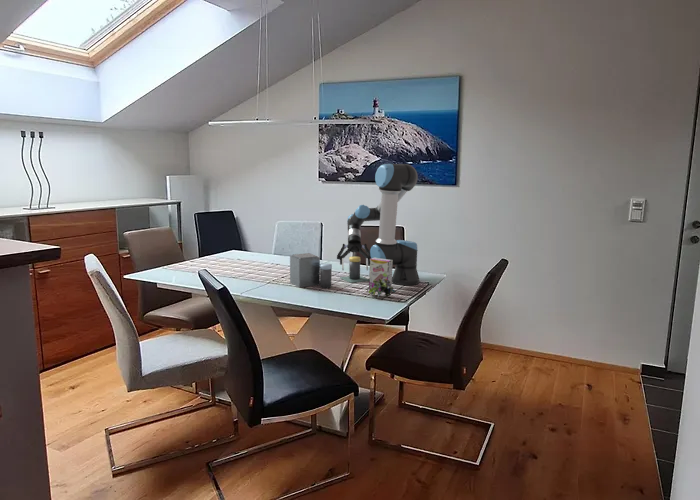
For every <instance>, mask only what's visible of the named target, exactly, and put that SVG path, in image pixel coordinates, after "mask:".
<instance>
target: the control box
mask: <svg viewBox="0 0 700 500" xmlns="http://www.w3.org/2000/svg"><path fill="white" fill-rule="evenodd" d="M320 264H321V258H320V256H318V255H316V254H312V253H310V252H308V253H307V252H306V253H295V254H292V255H291V254H290V255H289V283H290V284H292V285H294V286H296V287H297V288H306V287H313V286H320Z"/></svg>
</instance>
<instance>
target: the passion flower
mask: <svg viewBox="0 0 700 500" xmlns="http://www.w3.org/2000/svg"><path fill="white" fill-rule="evenodd" d="M374 282H375V283H374V284H375V285H374V287H373V288H370V287H369V286H368V288H367V289H366V290H367V291H368V294H370V295H371V296H372V295H373V296H375V294H376V293H377V297H376V299H379V297H380V296H381V294H382V293H384V295H385V296H387V297H388V296H392V294H391V292H392V293H396V290H395V289H394V287H393V285H392V286H391V284H389V283H390V281H389V280H387V279H384V280H382V279H379V281H375V280H374ZM369 288H370V289H369ZM379 288H380V290H381V291H379Z"/></svg>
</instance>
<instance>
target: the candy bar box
mask: <svg viewBox="0 0 700 500" xmlns="http://www.w3.org/2000/svg"><path fill="white" fill-rule="evenodd" d="M392 264H393V260H388V259H381V258H371V259H370V265H369V275H368V279H369V281H368V287H370V288H373V287H374V285H375V284H374V283H375V282H374V280H375V281H379V279H382V280H384V279H387V280H389V281H390V283H389V284H391V286H392V287H393V285H392V284H393V282H392V276H393V265H392ZM370 288H369V289H368V290H370ZM379 291H381V290H380V288H379ZM379 291H378V292H379Z"/></svg>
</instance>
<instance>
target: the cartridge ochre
mask: <svg viewBox="0 0 700 500" xmlns="http://www.w3.org/2000/svg"><path fill="white" fill-rule="evenodd" d="M348 258H349V260H348V262H349V265H348V267H349V268H348V269H349V273H348V275H349V279H352V280H358V279H360V276H361V257H360V256H354V255H353V256H349V257H348Z"/></svg>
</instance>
